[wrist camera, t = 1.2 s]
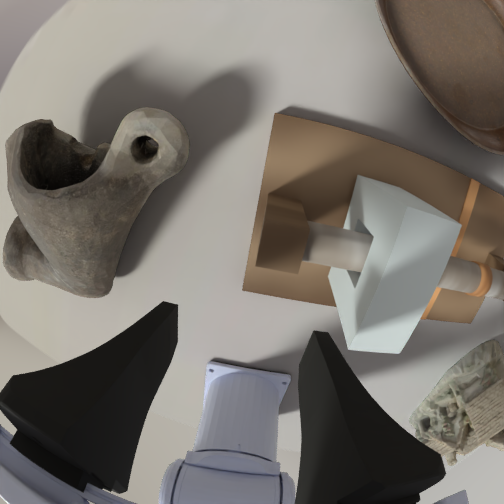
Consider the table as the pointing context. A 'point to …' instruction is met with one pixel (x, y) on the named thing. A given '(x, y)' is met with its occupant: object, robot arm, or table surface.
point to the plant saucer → (454, 60)
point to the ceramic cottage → (465, 405)
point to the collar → (391, 266)
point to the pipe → (84, 197)
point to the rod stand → (356, 243)
